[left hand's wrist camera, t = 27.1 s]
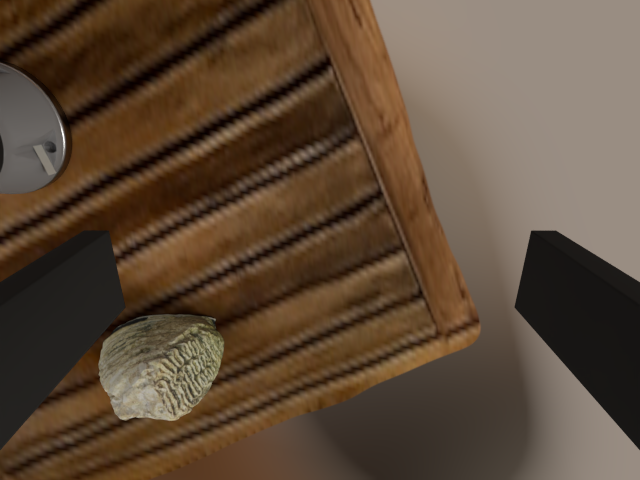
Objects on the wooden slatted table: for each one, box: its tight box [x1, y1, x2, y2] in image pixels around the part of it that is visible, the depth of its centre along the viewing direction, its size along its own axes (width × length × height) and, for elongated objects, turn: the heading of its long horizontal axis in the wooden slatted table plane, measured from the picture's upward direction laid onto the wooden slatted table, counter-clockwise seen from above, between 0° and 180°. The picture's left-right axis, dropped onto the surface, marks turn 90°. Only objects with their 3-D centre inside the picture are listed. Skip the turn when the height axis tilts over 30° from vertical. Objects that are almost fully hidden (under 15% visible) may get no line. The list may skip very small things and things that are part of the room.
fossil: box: [99, 314, 224, 421], centre depth 51 cm, size 9×18×15 cm, turn 110°
